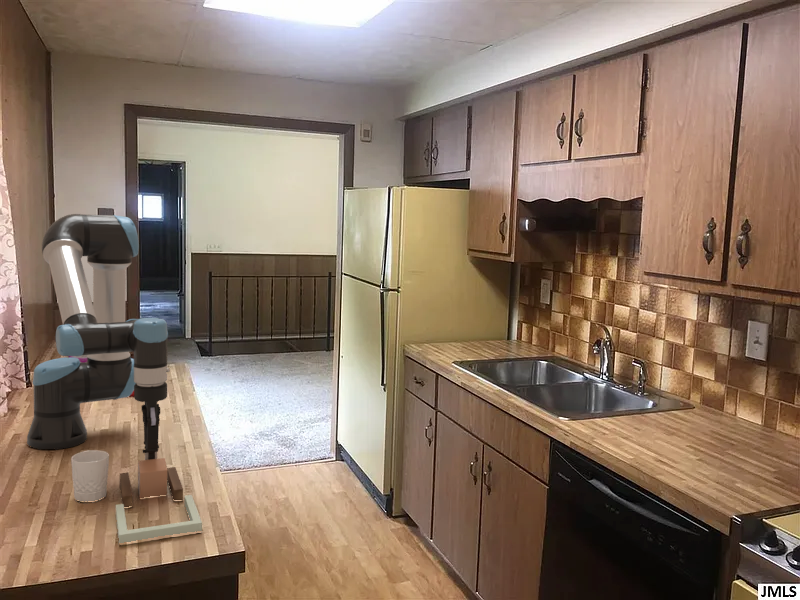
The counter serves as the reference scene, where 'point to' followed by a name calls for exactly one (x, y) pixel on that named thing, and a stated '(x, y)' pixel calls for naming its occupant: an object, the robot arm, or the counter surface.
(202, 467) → the counter surface
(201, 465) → the counter surface
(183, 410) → the counter surface
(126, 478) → the chute
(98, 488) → the white cup
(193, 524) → the bay
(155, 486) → the block
